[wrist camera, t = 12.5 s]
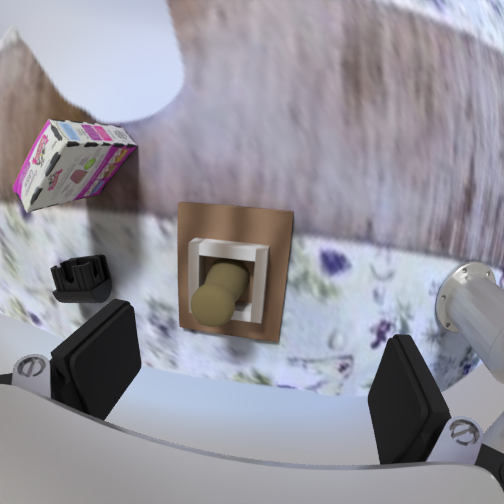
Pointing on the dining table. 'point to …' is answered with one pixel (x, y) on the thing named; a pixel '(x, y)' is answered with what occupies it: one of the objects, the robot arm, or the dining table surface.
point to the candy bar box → (71, 162)
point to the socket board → (244, 249)
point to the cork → (220, 292)
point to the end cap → (82, 280)
